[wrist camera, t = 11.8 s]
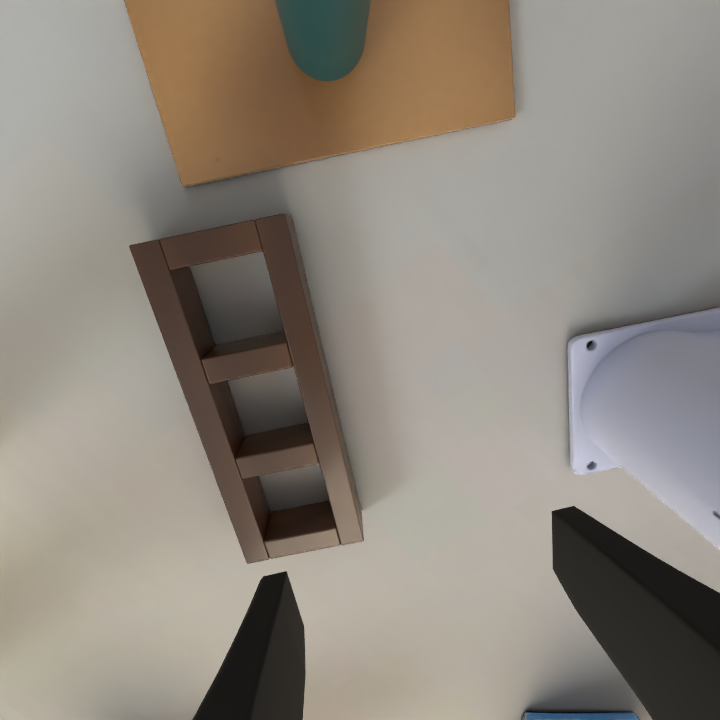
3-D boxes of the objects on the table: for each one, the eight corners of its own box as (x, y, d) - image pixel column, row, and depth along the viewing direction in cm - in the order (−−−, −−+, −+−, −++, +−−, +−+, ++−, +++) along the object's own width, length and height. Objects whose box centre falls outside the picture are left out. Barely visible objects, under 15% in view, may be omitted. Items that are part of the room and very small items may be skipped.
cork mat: (496, -136, 14) (500, -146, 13) (511, 119, 16) (515, 117, 16) (111, -52, 14) (105, -59, 14) (185, 187, 17) (182, 186, 16)
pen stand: (291, 215, 17) (284, 213, 15) (361, 512, 22) (364, 541, 20) (153, 243, 17) (128, 245, 15) (255, 533, 22) (246, 564, 20)
